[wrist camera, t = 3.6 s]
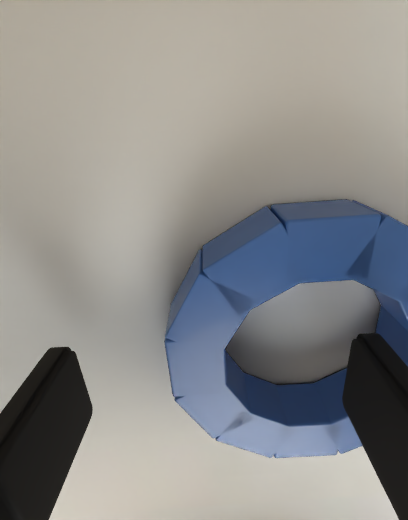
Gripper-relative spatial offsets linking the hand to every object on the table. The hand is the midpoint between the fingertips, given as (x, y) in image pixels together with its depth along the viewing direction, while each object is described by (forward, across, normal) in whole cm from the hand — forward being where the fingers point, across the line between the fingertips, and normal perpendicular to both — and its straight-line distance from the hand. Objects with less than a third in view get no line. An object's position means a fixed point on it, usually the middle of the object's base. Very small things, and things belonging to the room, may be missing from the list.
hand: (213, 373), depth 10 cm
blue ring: (+2, -4, 0) cm, 4 cm away
